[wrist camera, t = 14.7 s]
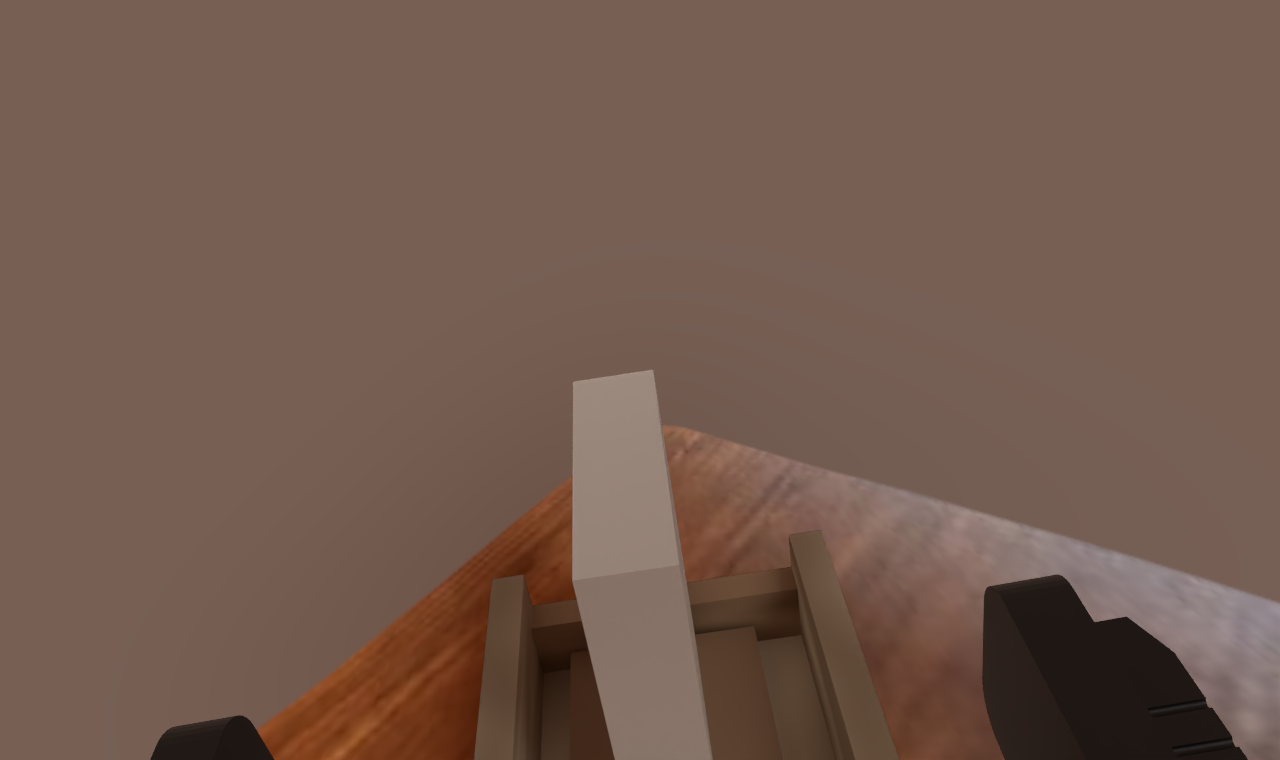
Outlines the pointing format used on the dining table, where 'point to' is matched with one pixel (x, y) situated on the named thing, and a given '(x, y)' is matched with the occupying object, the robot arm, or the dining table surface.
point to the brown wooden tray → (768, 600)
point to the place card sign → (647, 603)
